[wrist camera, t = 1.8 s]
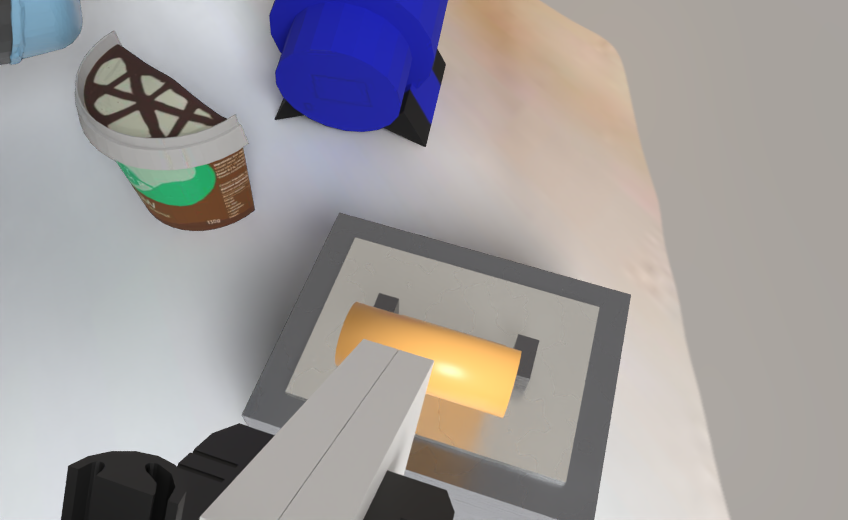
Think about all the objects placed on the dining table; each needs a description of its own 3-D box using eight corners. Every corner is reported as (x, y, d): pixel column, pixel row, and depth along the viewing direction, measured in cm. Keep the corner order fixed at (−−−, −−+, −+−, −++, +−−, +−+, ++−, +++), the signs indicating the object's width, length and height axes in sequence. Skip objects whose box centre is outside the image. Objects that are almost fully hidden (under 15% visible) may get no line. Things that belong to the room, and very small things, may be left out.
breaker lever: (502, 383, 30) (502, 423, 20) (386, 347, 31) (329, 369, 21) (515, 336, 30) (522, 353, 20) (399, 302, 31) (349, 301, 21)
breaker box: (549, 563, 35) (603, 522, 26) (272, 469, 37) (233, 400, 28) (587, 365, 41) (642, 276, 32) (348, 294, 44) (337, 192, 34)
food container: (87, 183, 48) (21, 76, 39) (156, 136, 50) (108, 26, 42) (202, 278, 44) (156, 181, 35) (269, 221, 46) (242, 119, 38)
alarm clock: (447, 60, 56) (462, -120, 44) (421, 167, 50) (430, -7, 37) (308, 38, 57) (284, -144, 44) (264, 141, 51) (222, -38, 38)
